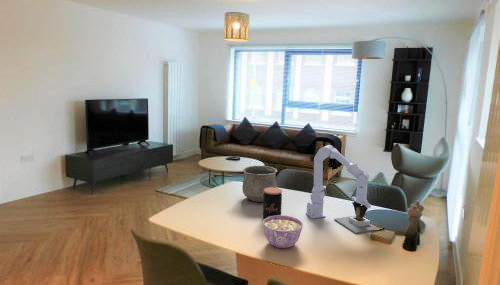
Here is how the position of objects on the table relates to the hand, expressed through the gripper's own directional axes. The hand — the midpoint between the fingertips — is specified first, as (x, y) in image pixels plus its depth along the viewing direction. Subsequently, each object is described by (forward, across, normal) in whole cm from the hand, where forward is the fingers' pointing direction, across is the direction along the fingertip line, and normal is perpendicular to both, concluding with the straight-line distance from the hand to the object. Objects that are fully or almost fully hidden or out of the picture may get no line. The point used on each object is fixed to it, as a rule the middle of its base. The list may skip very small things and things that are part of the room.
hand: (359, 215), depth 208 cm
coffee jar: (+6, +23, +45) cm, 51 cm away
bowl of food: (+6, -8, +54) cm, 55 cm away
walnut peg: (+3, 0, 0) cm, 3 cm away
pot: (+6, +56, +39) cm, 68 cm away
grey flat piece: (+5, 0, 0) cm, 5 cm away
